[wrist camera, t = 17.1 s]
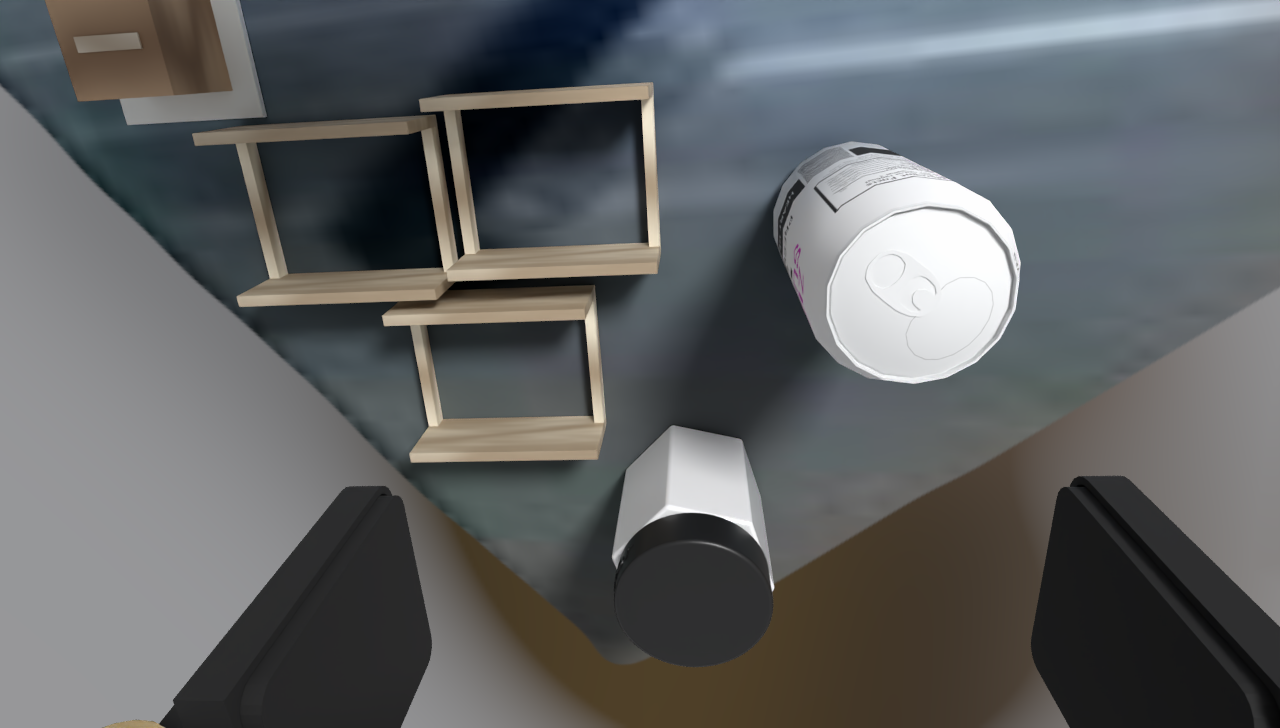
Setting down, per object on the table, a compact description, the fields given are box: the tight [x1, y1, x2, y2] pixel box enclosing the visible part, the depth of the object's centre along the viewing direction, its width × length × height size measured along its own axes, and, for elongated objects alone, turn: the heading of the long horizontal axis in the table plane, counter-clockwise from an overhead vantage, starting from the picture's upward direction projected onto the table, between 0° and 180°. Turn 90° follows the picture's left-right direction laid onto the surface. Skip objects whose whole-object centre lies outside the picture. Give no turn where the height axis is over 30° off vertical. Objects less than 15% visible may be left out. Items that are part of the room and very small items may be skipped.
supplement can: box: [773, 142, 1021, 384], centre depth 35 cm, size 8×8×15 cm
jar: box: [612, 425, 774, 667], centre depth 43 cm, size 9×8×12 cm
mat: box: [120, 0, 267, 125], centre depth 40 cm, size 8×8×1 cm
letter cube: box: [45, 0, 233, 102], centre depth 38 cm, size 5×5×5 cm
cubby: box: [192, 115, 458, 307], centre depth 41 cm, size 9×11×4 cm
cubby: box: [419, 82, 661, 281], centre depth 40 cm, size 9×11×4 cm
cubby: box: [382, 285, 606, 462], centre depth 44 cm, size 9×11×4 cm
